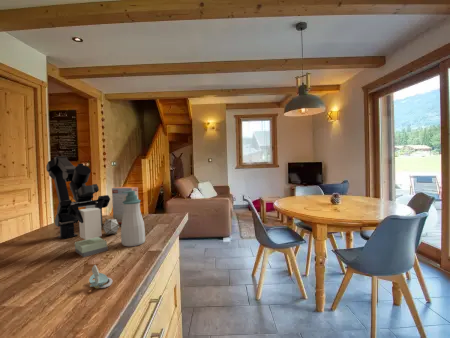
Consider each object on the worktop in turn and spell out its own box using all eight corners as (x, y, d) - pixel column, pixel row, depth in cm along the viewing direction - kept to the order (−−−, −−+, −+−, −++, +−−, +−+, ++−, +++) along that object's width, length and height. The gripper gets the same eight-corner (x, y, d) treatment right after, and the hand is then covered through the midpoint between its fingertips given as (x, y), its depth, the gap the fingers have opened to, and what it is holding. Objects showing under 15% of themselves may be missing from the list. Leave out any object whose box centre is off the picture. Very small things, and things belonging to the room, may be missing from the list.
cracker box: (140, 222, 144) (138, 186, 143) (133, 225, 139) (131, 187, 138) (120, 221, 149) (119, 186, 148) (113, 223, 143) (111, 187, 142)
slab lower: (75, 253, 100) (75, 247, 100) (98, 246, 106) (98, 241, 106) (83, 258, 94) (83, 253, 94) (107, 251, 100) (107, 246, 100)
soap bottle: (117, 243, 108) (115, 191, 107) (138, 238, 115) (136, 189, 114) (128, 248, 101) (125, 193, 100) (149, 242, 108) (147, 190, 107)
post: (80, 236, 100) (78, 209, 99) (95, 233, 104) (94, 207, 104) (85, 239, 96) (84, 211, 95) (101, 235, 100) (100, 209, 100)
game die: (113, 242, 121) (111, 229, 115) (98, 236, 122) (95, 223, 116) (125, 229, 128) (123, 216, 122) (111, 223, 129) (109, 210, 123)
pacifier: (111, 277, 77) (89, 282, 74) (110, 257, 77) (88, 261, 74) (113, 288, 71) (90, 293, 68) (113, 266, 71) (89, 271, 67)
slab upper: (75, 247, 100) (74, 242, 100) (98, 241, 106) (98, 236, 106) (82, 253, 94) (81, 247, 93) (106, 246, 100) (106, 241, 100)
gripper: (57, 180, 94) (68, 212, 88) (107, 176, 108) (120, 204, 102) (52, 198, 100) (62, 230, 93) (100, 193, 114) (112, 220, 107)
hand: (91, 220), depth 99 cm, fingers closed on post, 6 cm apart
